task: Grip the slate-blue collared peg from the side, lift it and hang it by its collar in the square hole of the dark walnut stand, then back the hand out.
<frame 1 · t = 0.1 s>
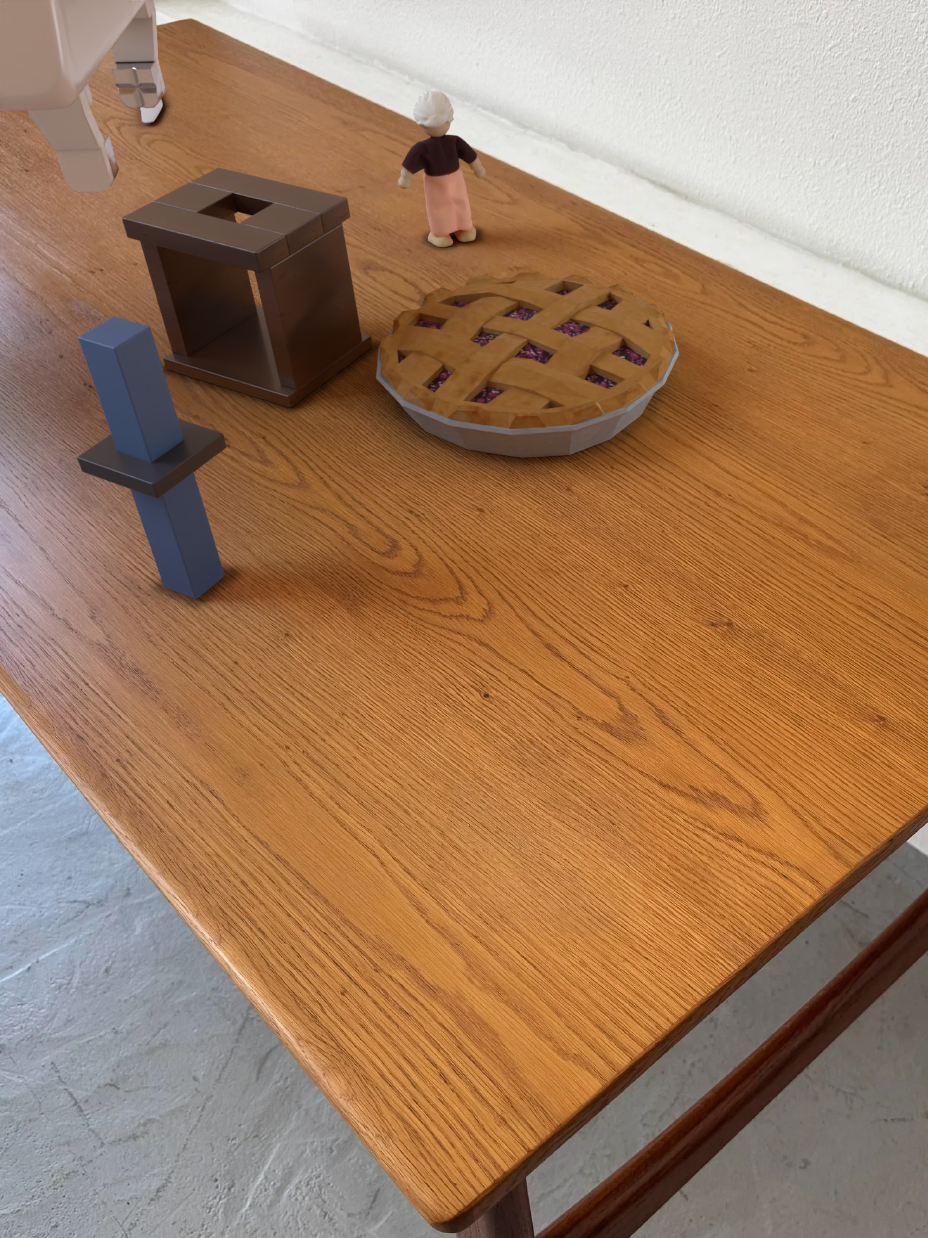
hand: (122, 142, 55), 28 cm above the table, tool pointing down, fingers open, 8 cm apart
peg: (194, 581, 76), on the table
butter knife: (145, 84, 140), on the table
grandmother figurine: (448, 241, 111), on the table
pie: (531, 389, 93), on the table
stand: (270, 358, 96), on the table
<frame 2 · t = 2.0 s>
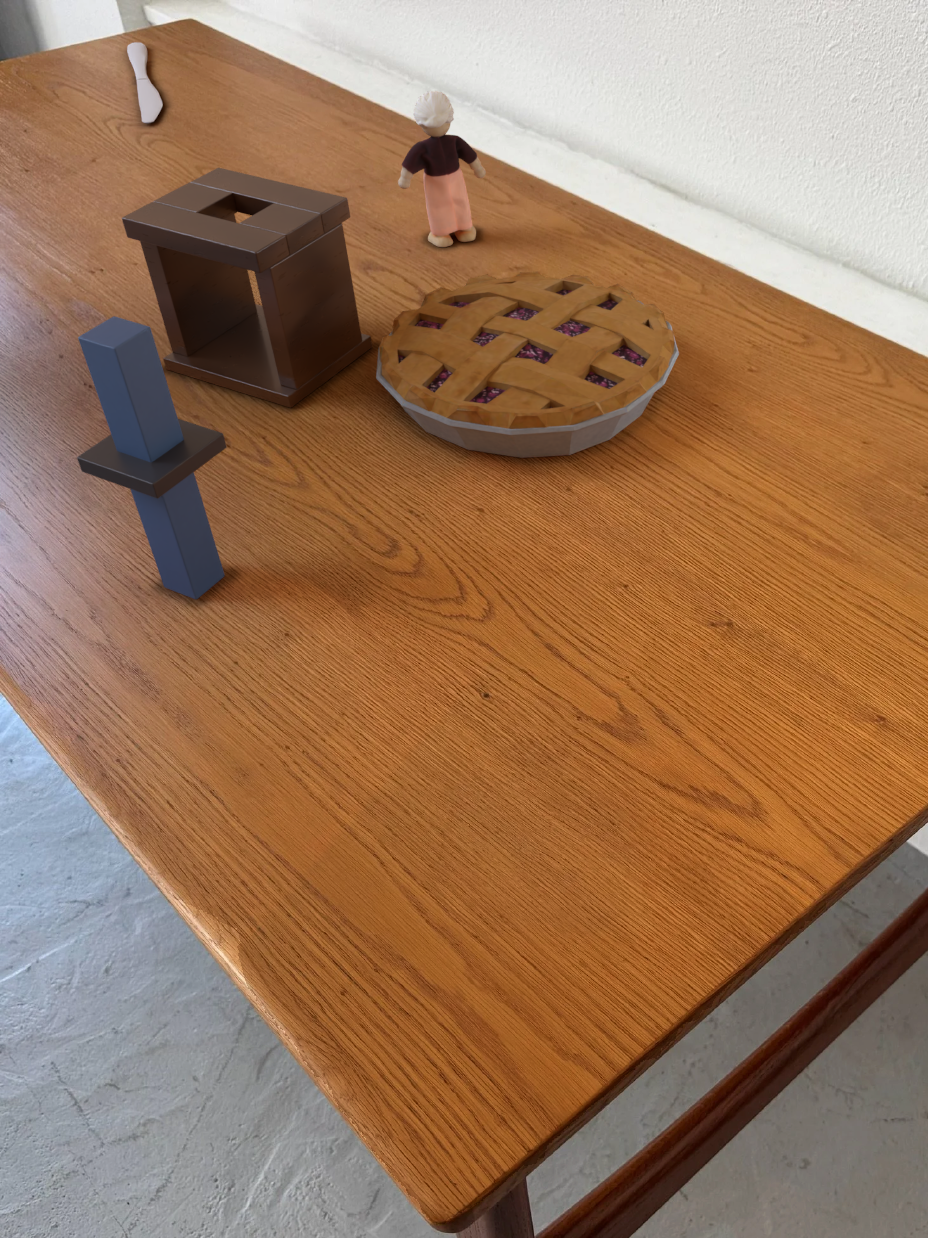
nothing on the table moved.
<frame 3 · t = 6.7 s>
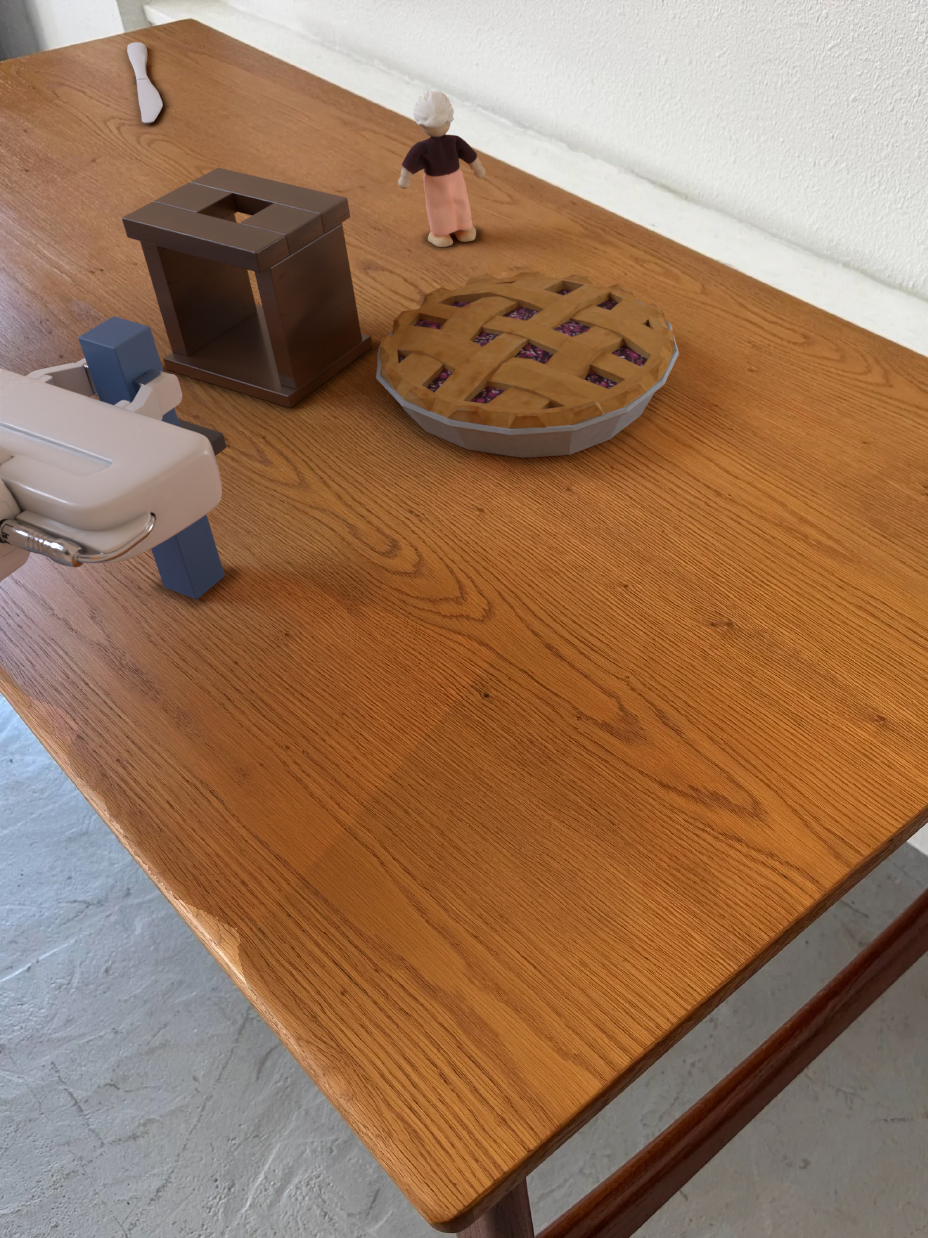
hand: (141, 374, 67), 14 cm above the table, tool horizontal, fingers closed on peg, 2 cm apart
peg: (194, 581, 76), on the table, touching gripper
everything else where it was.
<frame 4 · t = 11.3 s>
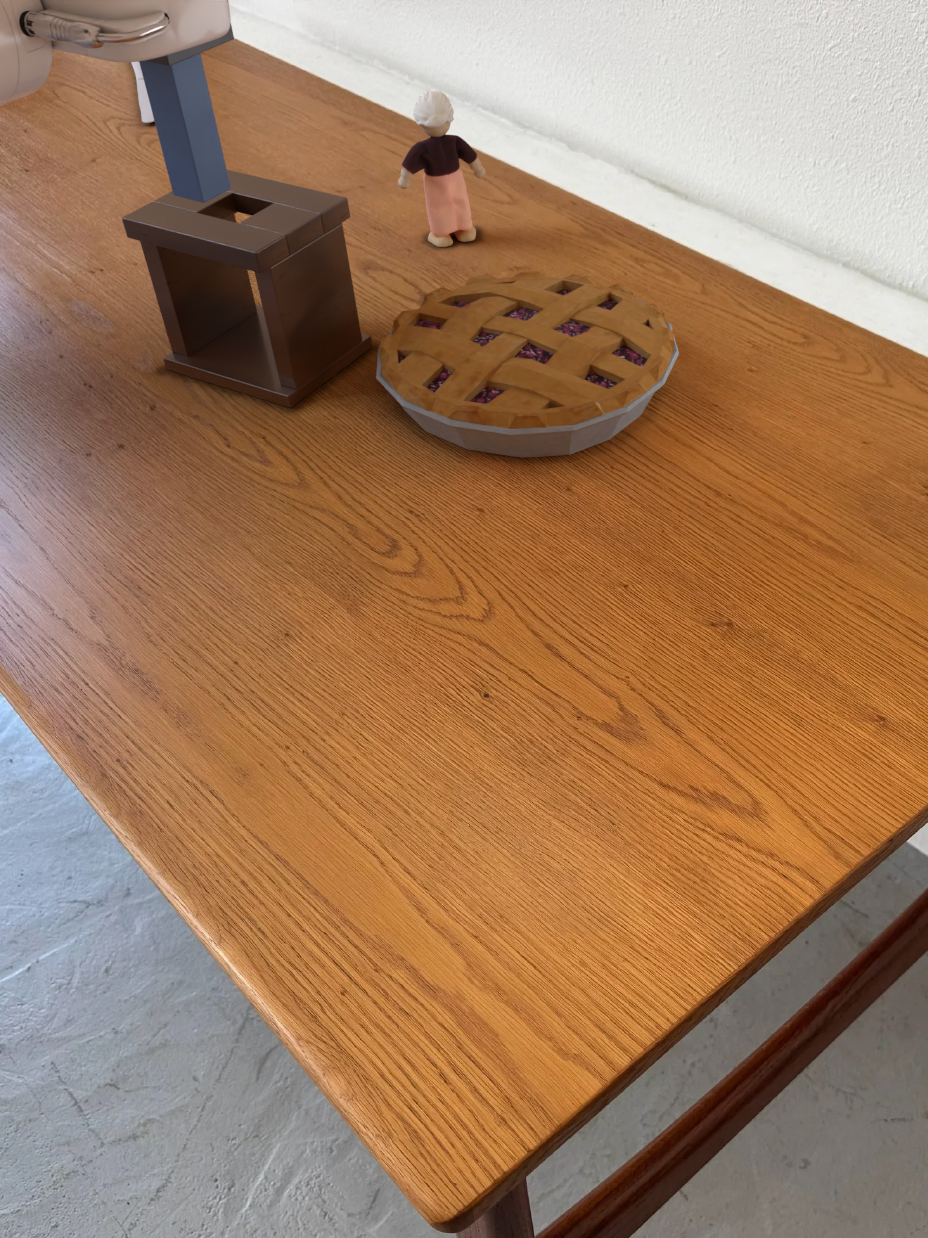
peg: (202, 192, 81), point 16 cm above the table, touching gripper
everything else where it was.
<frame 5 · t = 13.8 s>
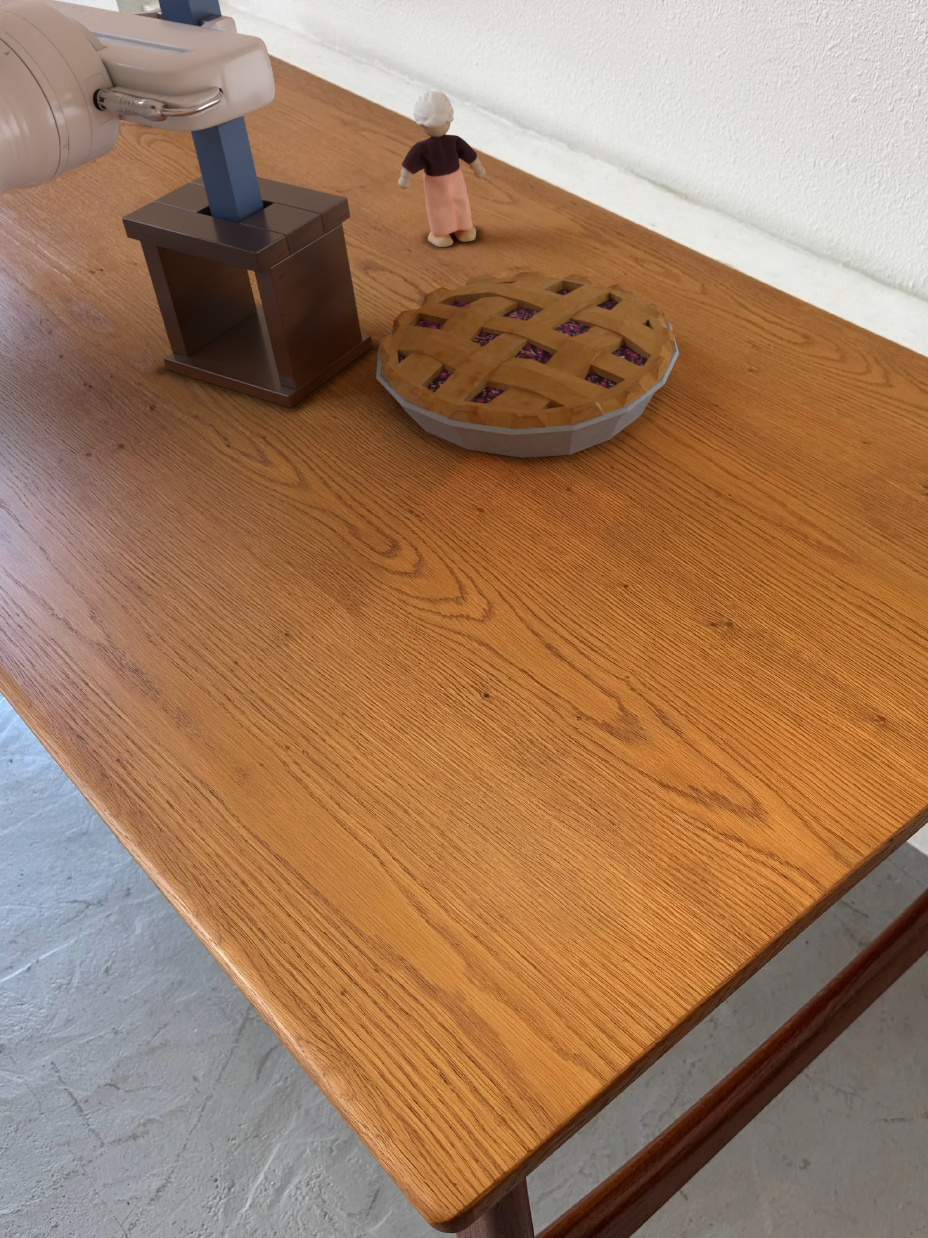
hand: (204, 24, 80), 24 cm above the table, tool horizontal, fingers closed on peg, 2 cm apart
peg: (243, 236, 89), point 10 cm above the table, touching gripper
everything else where it was.
when the fingers open (17 cm above the table, at t = 15.9 s): peg stays where it is, resting on stand.
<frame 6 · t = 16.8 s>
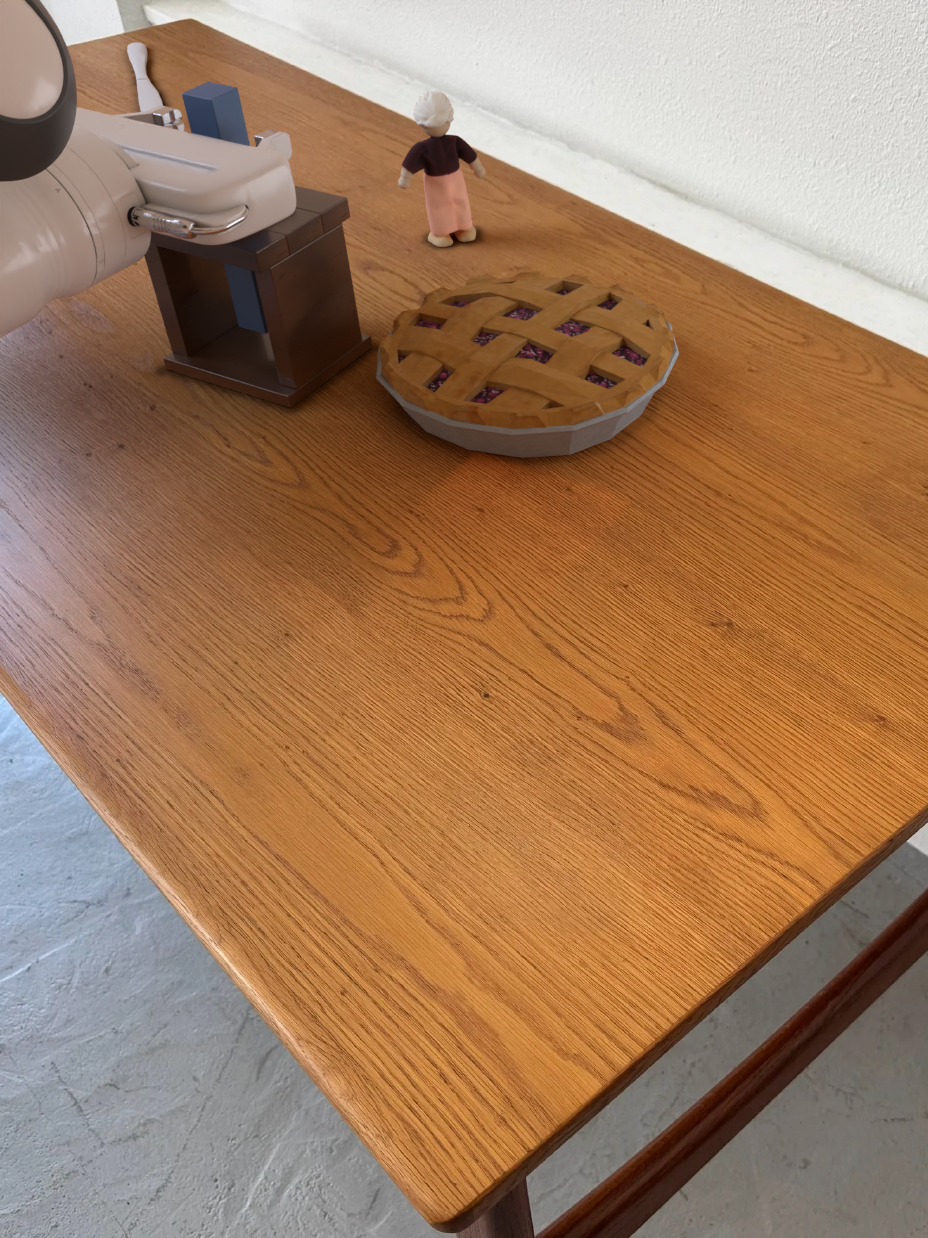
hand: (227, 129, 85), 17 cm above the table, tool horizontal, fingers open, 8 cm apart
peg: (263, 323, 94), point 3 cm above the table, touching stand
everything else where it was.
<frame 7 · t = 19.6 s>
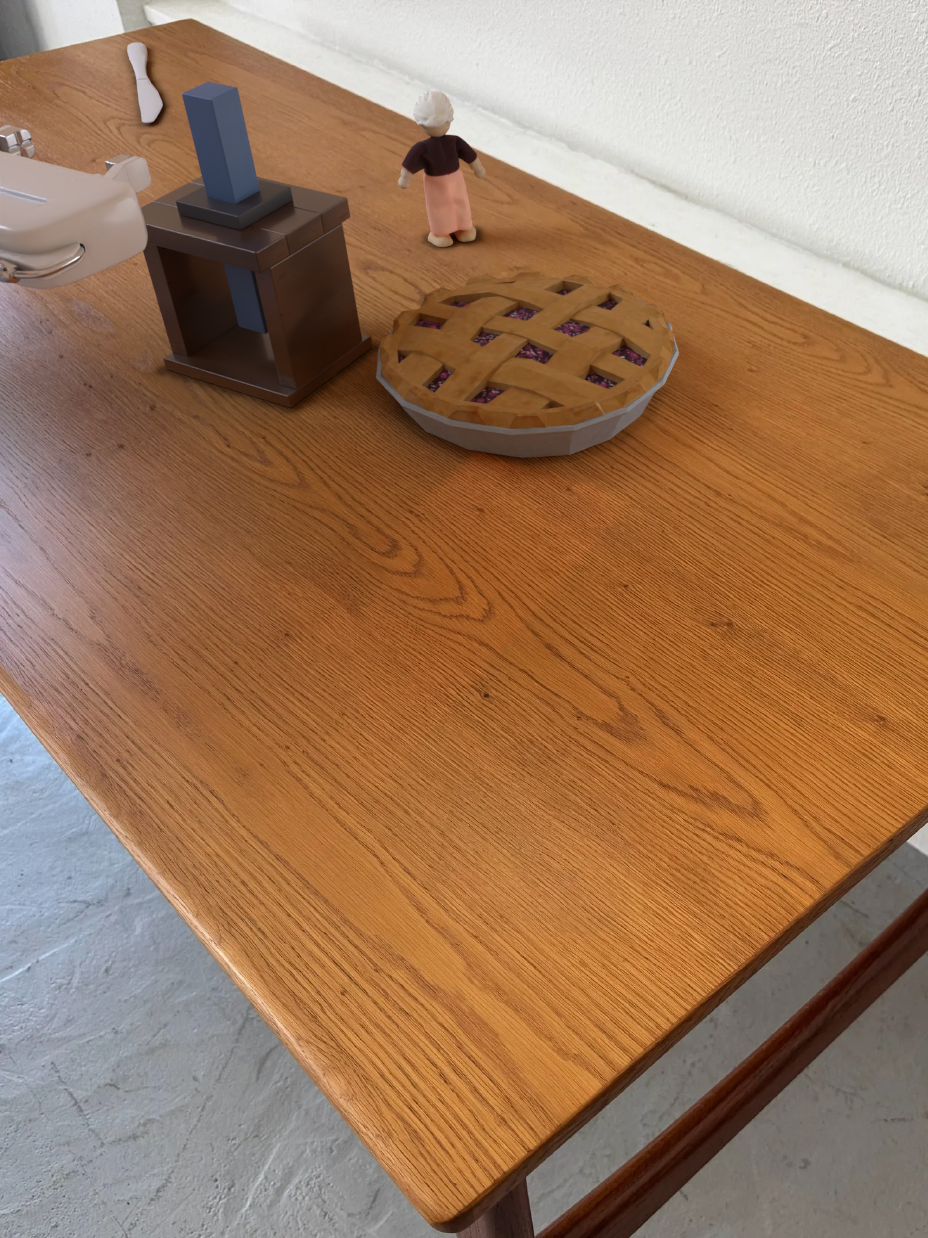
hand: (81, 153, 75), 20 cm above the table, tool horizontal, fingers open, 8 cm apart
nothing on the table moved.
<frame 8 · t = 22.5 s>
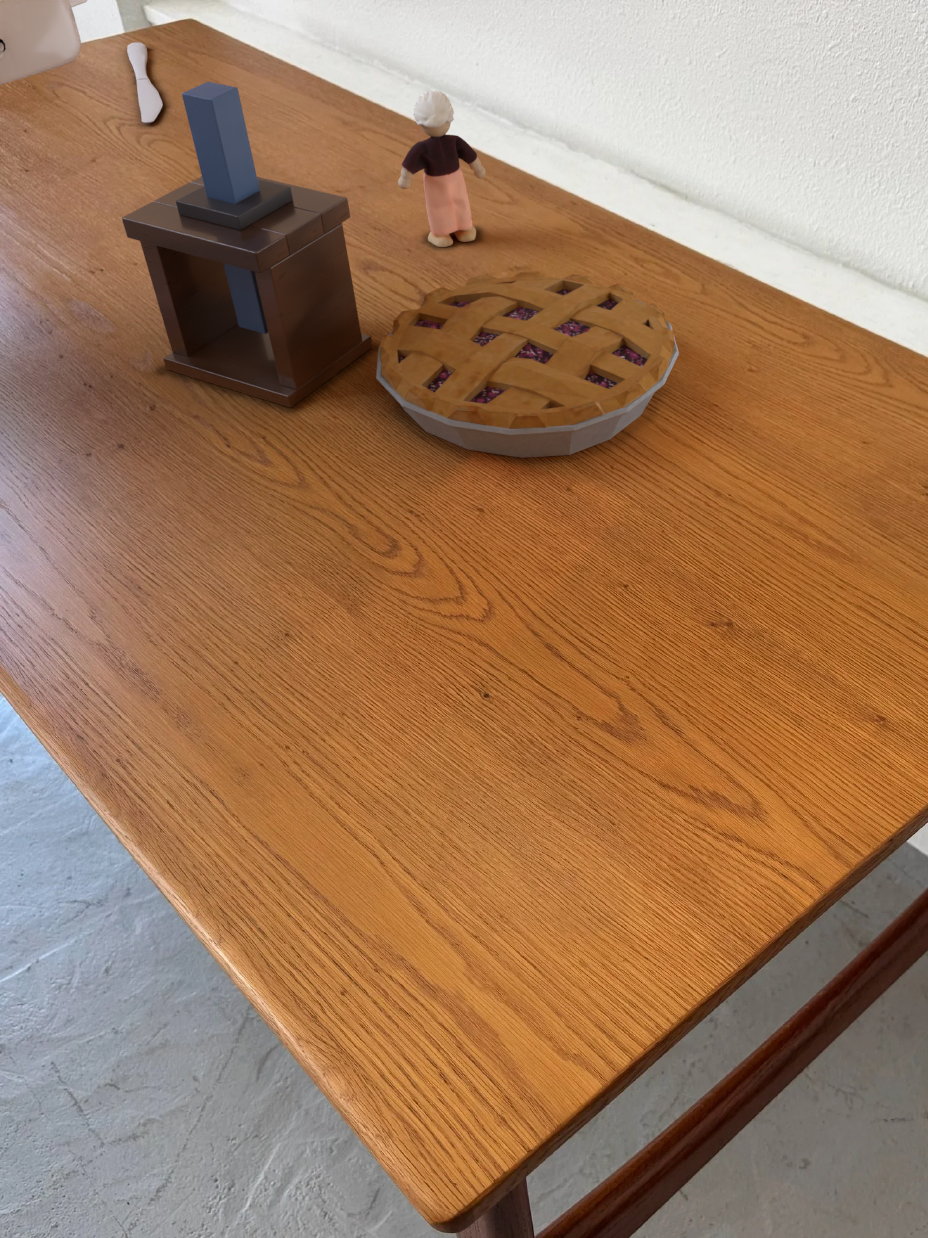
nothing on the table moved.
at the end: peg 0.1 cm off-centre on the stand, point 3.0 cm above the stand's base; peg tilted 0°; peg touching stand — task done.
